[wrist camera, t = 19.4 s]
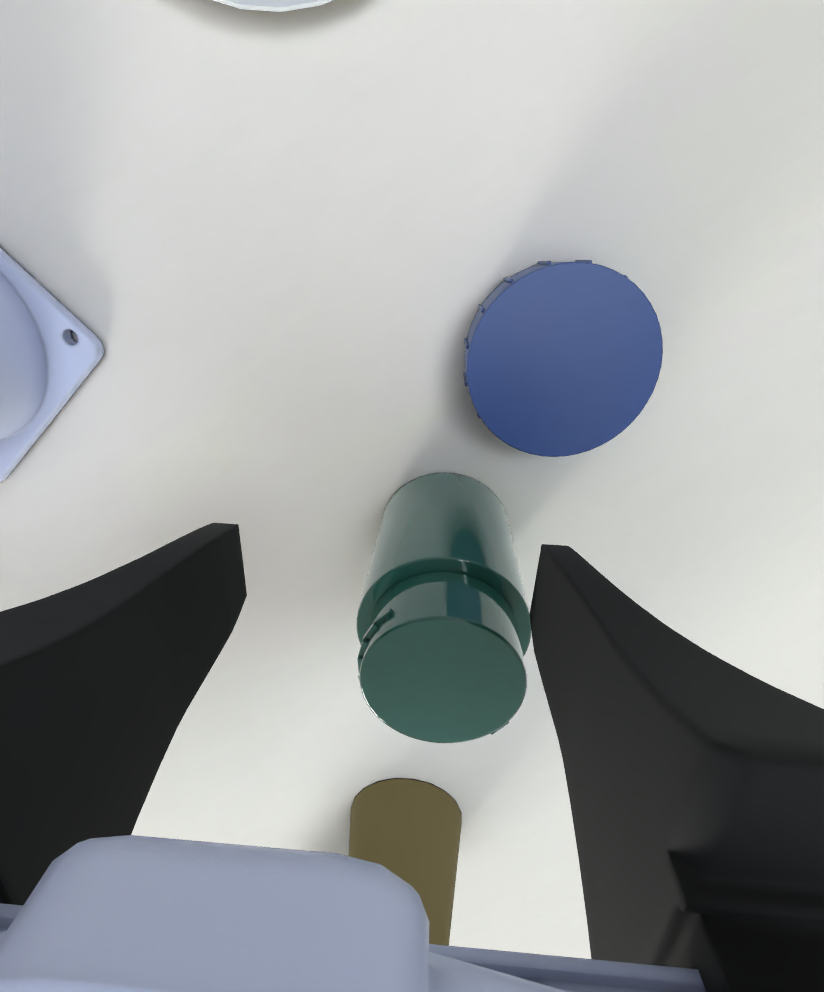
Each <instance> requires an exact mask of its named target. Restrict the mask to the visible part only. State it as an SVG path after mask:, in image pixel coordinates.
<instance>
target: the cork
mask: <svg viewBox="0 0 824 992" xmlns="http://www.w3.org/2000/svg"><path fill="white" fill-rule="evenodd" d="M460 832H461V811H460V809H459V807H458V805H457V803H456V801H455V800H454V799H453V798H452V797H451V796H450V795H448V794H447V793H446V792H445V791H443V790H441V789H439V788H437V787H435V786H434V785H432V784H429V783H425V782H421V781H417V780H413V779H391V780H385V781H380V782H377V783H375V784H372V785H370V786H368V787H366V788H364V789H363V790H362V791H361V792H360V793H359V794H358V795H357V796H356V797H355V799H354V801H353V804H352V807H351V818H350V840H349V857H353V858H357V859H361V860H365V861H369V862H373V863H377V864H381V865H382V866H384V867H385V868H387V869H388V870H390V871H391V872H392V873H394V874H395V875H397V876H398V877H400V878H401V879H402V880H404V881H405V882H407V883H408V884H410V885H411V886H412V887H413V888H414V889H415V890H416V891H417V893H418V894H419V895H420V898H421V901H422V903H423V906H424V909H425V911H426V914H427V917H428V920H429V944H435V945H445V946H449V937H450V928H451V918H452V909H453V899H454V890H455V880H456V871H457V861H458V852H459V842H460Z"/></svg>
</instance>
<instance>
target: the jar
mask: <svg viewBox="0 0 824 992" xmlns="http://www.w3.org/2000/svg"><path fill="white" fill-rule="evenodd" d="M357 633H358V638H359V641H360V644H361V648H360V651H359V655H358V670H359V680H360V686H361V690H362V693H363V696H364V698H365V700H366V702H367V704H368V706H369V707H370V709H371V710H372V711H373V713H374V714H375V715H376V716H377V717H378V718H379V719H380V720H381V721H383V722H384V723H385V724H386V725H388V726H389V727H391V728H392V729H394V730H396V731H398V732H400V733H402V734H404V735H407V736H409V737H412V738H415V739H419V740H423V741H428V742H436V743H457V742H465V741H470V740H474V739H477V738H481V737H483V736H486V735H488V734H494V733H495V732H496V731H498V730H499V729H501V728H502V727H504V726H505V725H506V724H508V723H509V720H510V719H511V718H512V717H513V716H514V715H515V714H516V712H517V711H518V709H519V708H520V706H521V704H522V702H523V699H524V696H525V693H526V688H527V675H526V669H525V663H524V658H523V657H524V655H525V653H526V651H527V648H528V646H529V643H530V638H531V623H530V612H529V608H528V604H527V599H526V595H525V591H524V586H523V582H522V578H521V573H520V569H519V565H518V560H517V556H516V552H515V547H514V543H513V539H512V534H511V530H510V526H509V521H508V518H507V514H506V511H505V509H504V507H503V505H502V503H501V502H500V500H499V499H498V497H497V496H496V495H495V494H494V493H493V492H492V491H491V490H490V489H489V488H488V487H487V486H485V485H483V484H482V483H480V482H479V481H477V480H475V479H473V478H470V477H467V476H464V475H460V474H455V473H435V474H429V475H425V476H422V477H419V478H417V479H414V480H412V481H411V482H409V483H407V484H406V485H404V486H403V487H402V488H400V489H399V490H398V491H397V492H396V493H395V494H394V495H393V497H392V498H391V499H390V501H389V502H388V504H387V506H386V508H385V511H384V514H383V517H382V521H381V524H380V528H379V532H378V536H377V540H376V544H375V548H374V551H373V555H372V559H371V563H370V567H369V571H368V575H367V578H366V582H365V586H364V590H363V594H362V598H361V602H360V605H359V609H358V615H357Z"/></svg>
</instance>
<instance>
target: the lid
mask: <svg viewBox="0 0 824 992" xmlns="http://www.w3.org/2000/svg"><path fill="white" fill-rule="evenodd" d="M478 308H479V310H478V311H477V313H476V315H475V317H474V319H473V321H472V324H471V327H470V330H469V332H468V336H467V338H465V339H464V343H465V369H466V372H464V380H465V386H468V387H469V393H470V396H471V399H472V402H473V405H474V407H475V409H476V411H477V416H478V417H479V418H481V419H482V421H483V422H484V424H485V425H486V426H487V427H488V428H489V430H490V431H491V432H492V433H493V434H495V435H496V436H497V437H498V438H499V439H500V440H502V441H503V442H505V443H507V444H508V445H510V446H512V447H514V448H516V449H518V450H520V451H523V452H526V453H529V454H534V455H539V456H549V457H558V456H569V455H574V454H579V453H582V452H585V451H589V450H591V449H594V448H596V447H598V446H600V445H602V444H604V443H606V442H608V441H609V440H611V439H613V438H614V437H615V436H617V435H618V434H619V433H621V432H622V431H623V430H624V429H625V428H626V427H627V426H629V425H630V424H631V423H632V422H633V420H634V419H635V418H636V417H637V416H638V415H639V414H640V412H641V411H642V409H643V408H644V406H645V405H646V403H647V402H648V400H649V398H650V396H651V394H652V392H653V390H654V388H655V385H656V382H657V380H658V376H659V372H660V368H661V362H662V353H663V349H662V335H661V329H660V325H659V322H658V319H657V315H656V313H655V311H654V309H653V307H652V305H651V303H650V302H649V300H648V299H647V297H646V296H645V294H644V293H643V292H642V291H641V290H640V289H639V288H638V287H637V286H636V285H635V284H634V283H633V282H632V281H630V280H629V279H628V277H627V276H626V275H622V274H620V273H618V272H616V271H614V270H613V269H610V268H607V267H604V266H601V265H597V264H592V261H591V260H575V262H552V263H551V261H540V262H538V265H536V266H532V267H530V268H527V269H525V270H522V271H520V272H518V273H516V274H515V275H513V276H511V277H510V278H509V277H505V278H504V282H503V283H501V284H500V285H499V286H498V287H497V288H496V289H495V290H494V291H493V292H492V293H491V294H490V295H489V296H488V297H487V298H486V300H485V301H484V302H483V304H482V305H480V304H479V305H478Z"/></svg>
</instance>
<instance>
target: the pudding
mask: <svg viewBox="0 0 824 992" xmlns="http://www.w3.org/2000/svg"><path fill="white" fill-rule="evenodd" d="M213 1H216V2H219V3H223V4H226V5H229V6H233V7H236V8H239V9H248V10H262V11H276V12H284V11H290V10H296V9H302V8H308V7H314V6H320V5H323V4H326V3H328V2H330V1H333V0H213Z"/></svg>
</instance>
